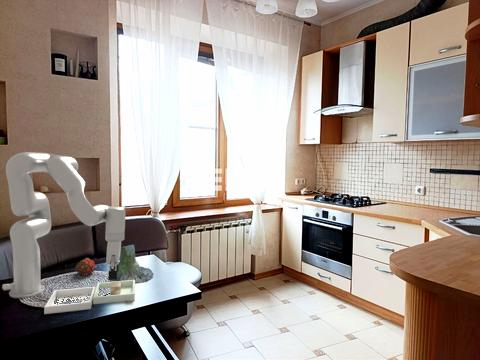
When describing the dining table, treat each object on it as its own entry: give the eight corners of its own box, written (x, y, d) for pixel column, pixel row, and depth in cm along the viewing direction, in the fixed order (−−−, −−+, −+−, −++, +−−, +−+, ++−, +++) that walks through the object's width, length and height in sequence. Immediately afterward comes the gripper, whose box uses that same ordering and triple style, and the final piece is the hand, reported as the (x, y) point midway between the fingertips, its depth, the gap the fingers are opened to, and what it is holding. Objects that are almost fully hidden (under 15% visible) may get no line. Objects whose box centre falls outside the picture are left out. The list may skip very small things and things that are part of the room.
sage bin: (93, 305, 126) (93, 297, 125) (97, 289, 141) (97, 282, 140) (134, 300, 130) (134, 293, 130) (134, 286, 145) (134, 279, 145)
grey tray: (44, 315, 117) (44, 307, 117) (54, 297, 132) (54, 290, 132) (90, 309, 122) (90, 302, 122) (95, 293, 137) (95, 286, 136)
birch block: (110, 296, 133) (110, 287, 133) (111, 292, 137) (111, 283, 137) (120, 295, 134) (120, 286, 134) (120, 291, 138) (120, 282, 138)
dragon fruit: (85, 281, 153) (83, 277, 163) (100, 268, 157) (97, 265, 167) (73, 268, 151) (71, 264, 161) (88, 256, 155) (86, 253, 165)
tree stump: (130, 288, 144) (123, 249, 144) (106, 288, 155) (99, 252, 156) (161, 275, 159) (154, 239, 159) (137, 275, 170) (130, 242, 171)
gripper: (107, 231, 141) (105, 268, 142) (103, 241, 124) (101, 284, 126) (125, 231, 143) (123, 268, 144) (123, 241, 127) (121, 283, 128)
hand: (113, 275), depth 135 cm, fingers open, 9 cm apart
